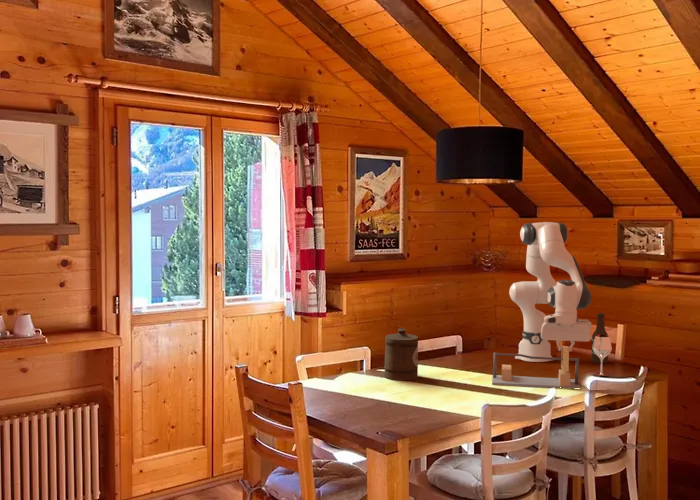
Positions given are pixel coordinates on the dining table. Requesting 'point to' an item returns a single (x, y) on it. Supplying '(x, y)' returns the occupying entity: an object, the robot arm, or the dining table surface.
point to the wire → (534, 357)
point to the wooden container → (401, 356)
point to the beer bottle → (599, 331)
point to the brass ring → (565, 358)
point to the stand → (534, 378)
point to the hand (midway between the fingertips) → (565, 351)
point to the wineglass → (602, 348)
